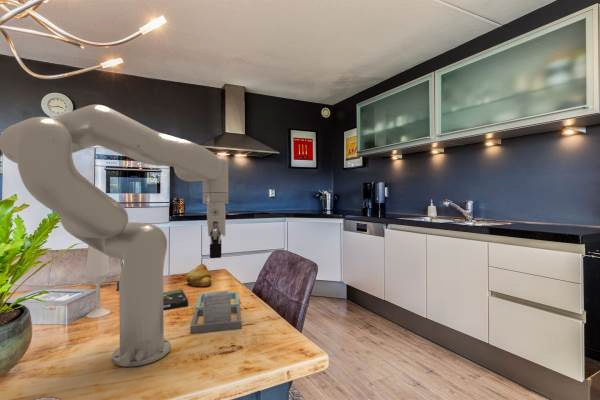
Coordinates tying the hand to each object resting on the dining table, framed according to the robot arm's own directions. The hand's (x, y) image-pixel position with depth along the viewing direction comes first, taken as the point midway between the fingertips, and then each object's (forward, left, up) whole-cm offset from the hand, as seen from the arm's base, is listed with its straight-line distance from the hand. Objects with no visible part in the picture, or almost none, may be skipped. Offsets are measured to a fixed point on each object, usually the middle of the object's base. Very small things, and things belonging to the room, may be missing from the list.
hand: (216, 254), depth 95 cm
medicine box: (0, 0, -21) cm, 21 cm away
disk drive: (+22, +17, -21) cm, 35 cm away
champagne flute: (+16, +38, -20) cm, 46 cm away
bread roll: (+44, +8, -21) cm, 49 cm away
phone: (+50, +39, -21) cm, 67 cm away
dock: (+7, 0, -20) cm, 22 cm away
